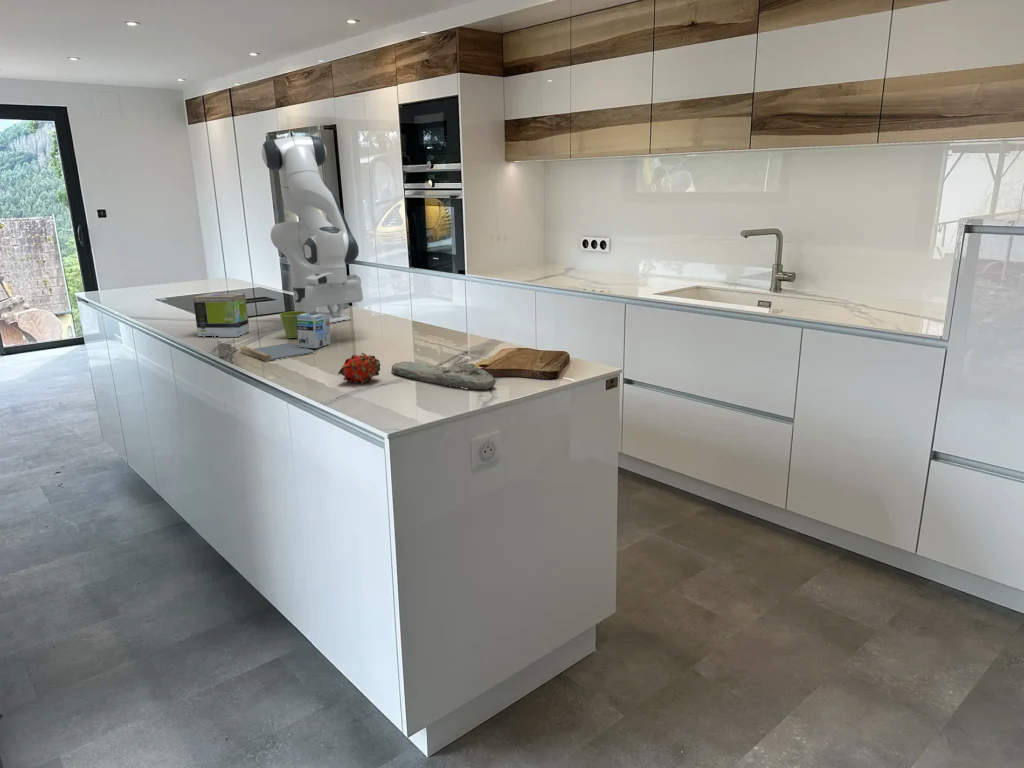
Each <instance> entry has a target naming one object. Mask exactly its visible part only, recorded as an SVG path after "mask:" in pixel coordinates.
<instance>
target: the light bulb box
mask: <svg viewBox="0 0 1024 768" xmlns="http://www.w3.org/2000/svg"><path fill="white" fill-rule="evenodd" d="M297 326H298V338H297V346H298V347H304V348H307V349H319V348H322V347H325V346H328V345H330V344H331V327H330V326H331V324H330V313H324V312H308V313H304V314H300V315H297ZM329 343H330V344H329ZM327 344H328V345H327Z"/></svg>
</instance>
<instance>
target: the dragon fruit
mask: <svg viewBox="0 0 1024 768" xmlns="http://www.w3.org/2000/svg"><path fill="white" fill-rule="evenodd" d="M381 366H382V364H381V363H380V360H379V359H378V358H376V356H375V355H371V354H368V355H367V354H365V353H364V352H361V353H360V354H359V355H356V354H352V355H351V357H350V358H346V359H345V361H344V364H343V365H342V367H341V368H340V370H339V371H338V373H337V374H338V375H340V374H341V376H344V377H343V381H346V383H352V382H356V383H358V382H360V384H361V385H362V384H364V383H366V382H371V381H372V378H373V377H377V376H379V375H380V373H379V372H380V371H381Z"/></svg>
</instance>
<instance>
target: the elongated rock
mask: <svg viewBox="0 0 1024 768" xmlns="http://www.w3.org/2000/svg"><path fill="white" fill-rule="evenodd" d="M391 374H392V375H394V374H396V376H400V377H405V378H407V377H408V378H407V379H411V378H412V379H411V380H413V379H418V380H417V381H419V380H423V381H427V382H426V383H428V382H432V383H431V384H438V383H439V384H438V385H443V386H445V385H451V386H457V387H456V388H459V387H463V388H469V389H471V390H488V389H491V388H493V387H495V385H496V382H497V381H496V379H495V378H494V376H493V374H490V373H489V372H488V371H486V370H485V369H480V368H478V367H477V366H476V365H475V364H474V363H472V362H471V363H465V364H464V363H463V364H458V365H454V366H452V365H451V366H448V367H447V366H446V367H443V366H438V365H430V364H424V363H416V362H412V361H401V362H395V363H394V364H392V365H391ZM423 381H422V382H423Z"/></svg>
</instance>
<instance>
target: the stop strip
mask: <svg viewBox="0 0 1024 768" xmlns="http://www.w3.org/2000/svg"><path fill="white" fill-rule="evenodd" d="M254 349H255V348H251V347H248V346H240V353H241V352H242V353H241V354H243V353H245V354H244V355H246V354H247V355H246V356H249V355H250V356H249V357H252V356H253V357H252V358H254V357H256V358H255V359H257V358H258V360H260V359H261V361H263V360H264V361H263V362H265V361H268V362H271V361H270V360H271V355H269V354H266V353H263V352H260V351H257V350H254Z"/></svg>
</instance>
